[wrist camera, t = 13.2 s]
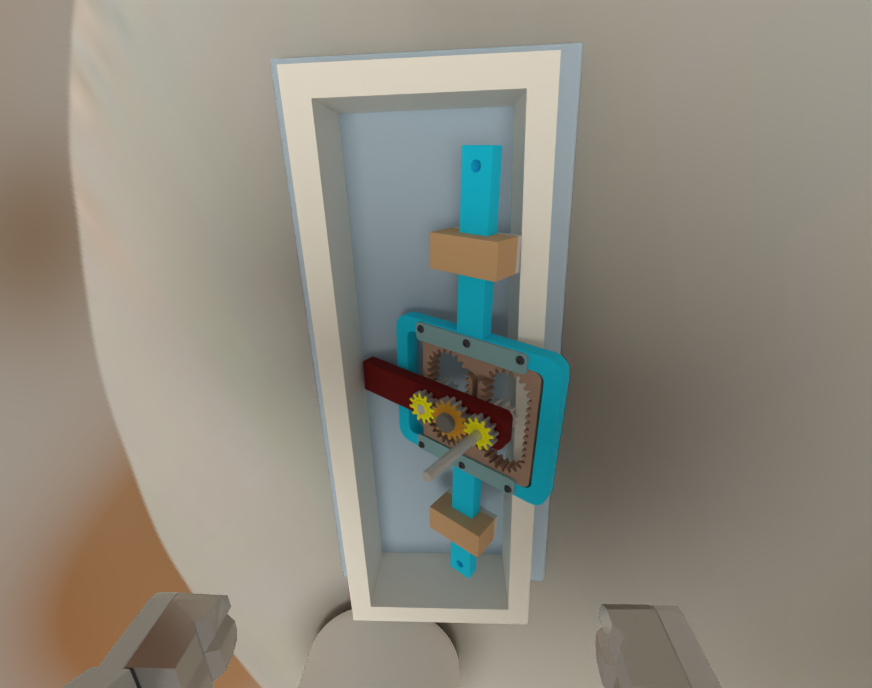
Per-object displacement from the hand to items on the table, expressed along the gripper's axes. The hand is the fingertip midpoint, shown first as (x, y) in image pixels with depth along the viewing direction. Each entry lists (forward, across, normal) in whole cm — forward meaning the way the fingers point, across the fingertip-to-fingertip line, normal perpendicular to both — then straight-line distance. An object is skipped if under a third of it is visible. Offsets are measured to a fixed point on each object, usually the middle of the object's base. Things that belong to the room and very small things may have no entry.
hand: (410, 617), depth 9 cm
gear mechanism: (+11, +4, 0) cm, 12 cm away
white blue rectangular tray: (+14, 0, 0) cm, 14 cm away
